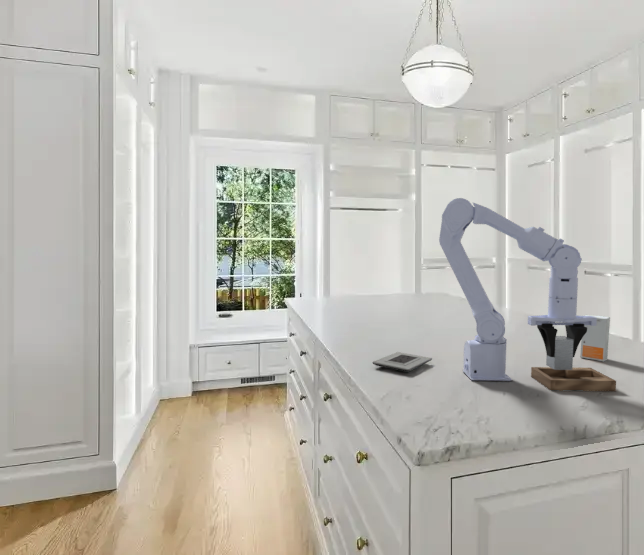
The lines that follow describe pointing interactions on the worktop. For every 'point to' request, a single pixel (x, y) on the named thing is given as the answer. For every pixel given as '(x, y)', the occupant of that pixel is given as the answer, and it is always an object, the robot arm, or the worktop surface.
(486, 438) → the worktop surface
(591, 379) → the wooden tray
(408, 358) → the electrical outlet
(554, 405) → the worktop surface
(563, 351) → the metal peg
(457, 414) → the worktop surface
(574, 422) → the worktop surface
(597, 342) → the skincare box
